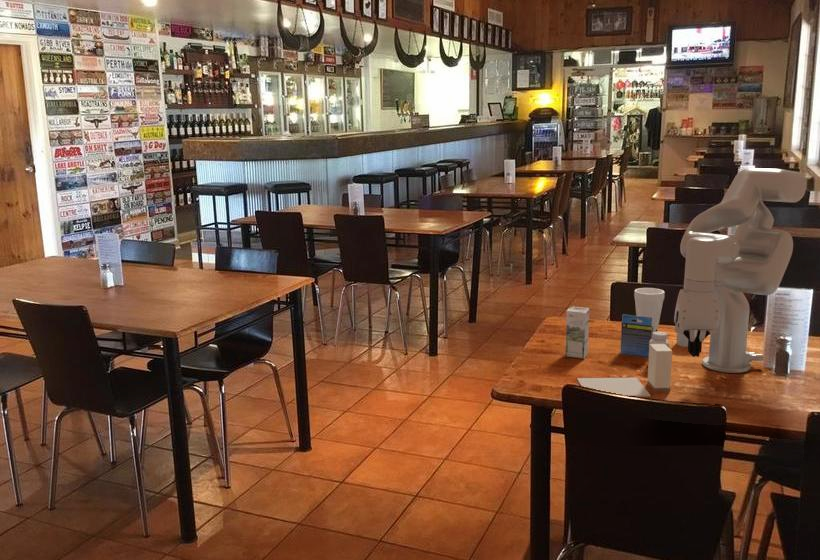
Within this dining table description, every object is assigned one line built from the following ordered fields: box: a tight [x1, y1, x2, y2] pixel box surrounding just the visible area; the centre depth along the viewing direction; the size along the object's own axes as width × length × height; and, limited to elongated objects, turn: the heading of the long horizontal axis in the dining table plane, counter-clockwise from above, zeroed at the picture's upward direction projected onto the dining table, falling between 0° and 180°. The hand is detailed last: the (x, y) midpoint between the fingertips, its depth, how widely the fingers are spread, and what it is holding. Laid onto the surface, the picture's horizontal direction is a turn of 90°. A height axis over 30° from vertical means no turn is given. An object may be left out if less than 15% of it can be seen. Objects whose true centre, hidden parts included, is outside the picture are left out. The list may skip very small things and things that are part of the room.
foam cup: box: [633, 287, 666, 332], centre depth 247 cm, size 10×9×13 cm
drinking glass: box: [676, 330, 697, 348], centre depth 230 cm, size 7×7×10 cm
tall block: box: [646, 344, 673, 393], centre depth 194 cm, size 4×6×11 cm, turn 179°
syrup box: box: [565, 306, 590, 360], centre depth 221 cm, size 6×6×14 cm
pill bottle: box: [647, 330, 670, 365], centre depth 211 cm, size 5×5×10 cm
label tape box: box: [620, 313, 654, 358], centre depth 222 cm, size 9×4×12 cm, turn 63°
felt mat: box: [576, 377, 652, 398], centre depth 196 cm, size 16×13×1 cm
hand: (693, 354), depth 193 cm, fingers closed
